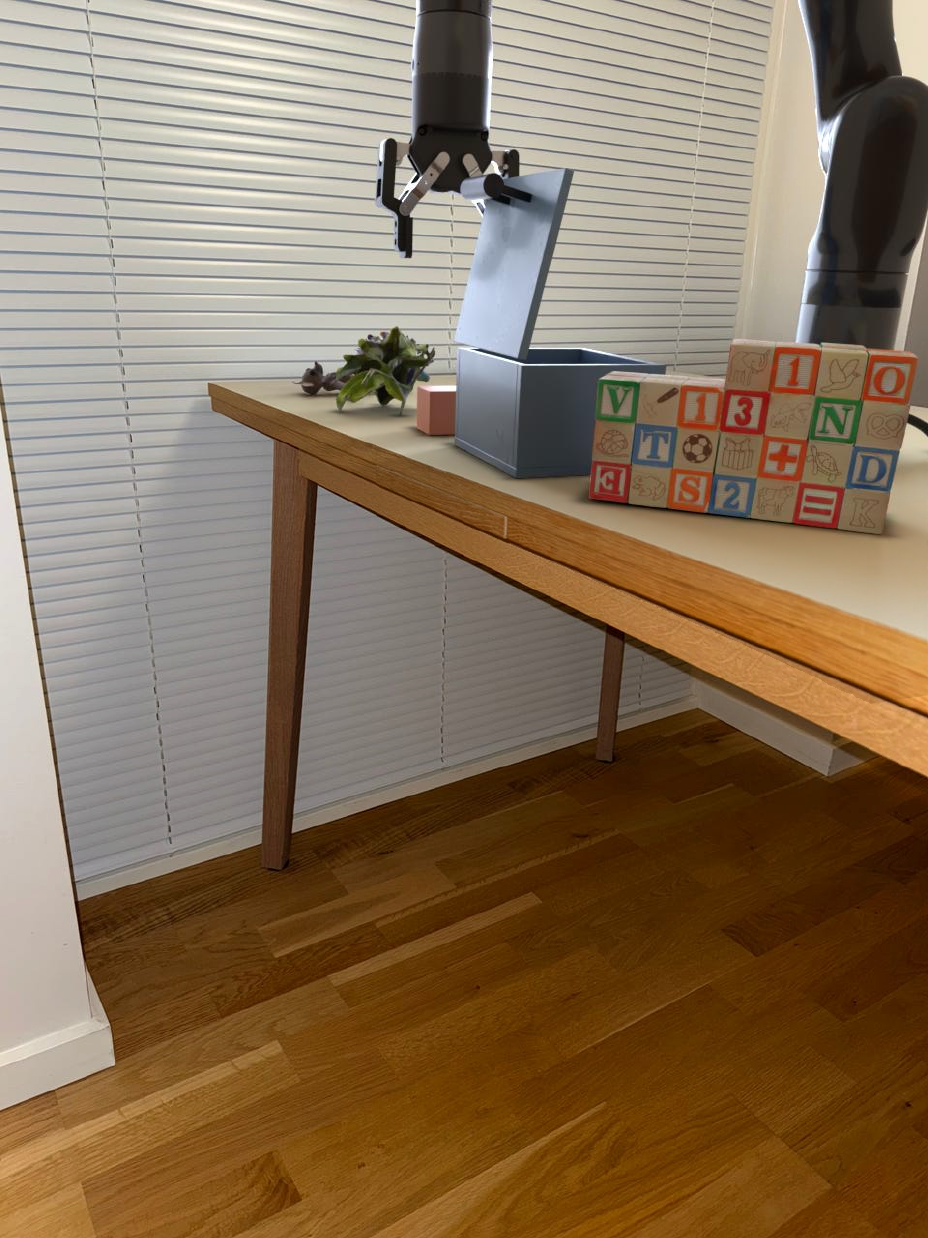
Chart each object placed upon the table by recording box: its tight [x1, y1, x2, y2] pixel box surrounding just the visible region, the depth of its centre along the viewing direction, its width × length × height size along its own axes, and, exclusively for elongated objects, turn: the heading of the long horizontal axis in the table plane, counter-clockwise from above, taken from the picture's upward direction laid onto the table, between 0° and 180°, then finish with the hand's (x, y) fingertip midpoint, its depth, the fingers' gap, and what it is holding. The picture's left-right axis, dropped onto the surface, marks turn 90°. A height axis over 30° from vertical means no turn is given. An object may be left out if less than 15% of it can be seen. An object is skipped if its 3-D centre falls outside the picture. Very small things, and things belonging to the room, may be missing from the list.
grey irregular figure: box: [291, 361, 354, 396], centre depth 125 cm, size 18×4×14 cm
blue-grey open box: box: [454, 347, 667, 479], centre depth 86 cm, size 14×16×9 cm
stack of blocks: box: [588, 338, 919, 535], centre depth 69 cm, size 21×6×12 cm, turn 71°
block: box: [416, 385, 456, 436], centre depth 99 cm, size 4×4×4 cm
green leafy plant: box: [335, 325, 436, 417], centre depth 110 cm, size 11×11×12 cm
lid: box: [453, 167, 575, 360], centre depth 79 cm, size 14×16×5 cm
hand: (446, 259), depth 94 cm, fingers open, 8 cm apart
